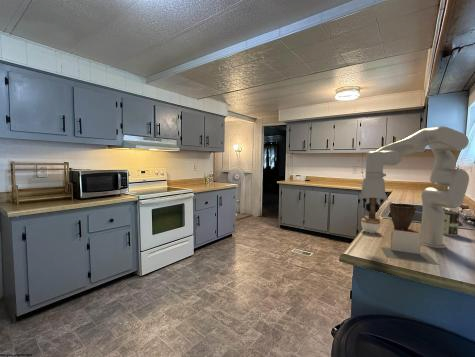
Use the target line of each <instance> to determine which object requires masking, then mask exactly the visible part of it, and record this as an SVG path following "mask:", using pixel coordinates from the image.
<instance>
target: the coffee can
mask: <svg viewBox="0 0 475 357" xmlns="http://www.w3.org/2000/svg"><path fill="white" fill-rule="evenodd" d="M443 210H444V213H445V218H444V229H443V236H444V235H446V236H450V237H451V236H453V237H457V236H458V233H459V232H458V230H459V224H460V223H459V221H460V214H461V213H460V212H458V211H452V210H445V209H443Z"/></svg>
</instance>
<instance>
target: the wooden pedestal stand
mask: <svg viewBox="0 0 475 357" xmlns="http://www.w3.org/2000/svg"><path fill="white" fill-rule="evenodd" d="M376 202H377V201H376V198H369V204H370V211H369V212H368V215H364V218H365V220H366V221H369V222H380V223H381V218H379V217H378V216H376V213H377V212H376Z"/></svg>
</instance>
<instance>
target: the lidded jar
mask: <svg viewBox="0 0 475 357" xmlns="http://www.w3.org/2000/svg"><path fill="white" fill-rule="evenodd" d="M360 221H361V222H360V224H361V228H362V230H363V231H364V232H365V233H368V232H369V233H370V234H375V233H376V232H378V231H379V230H380V225H381V221H380V222H369V221H366V220H365V217H363V218H361V219H360Z"/></svg>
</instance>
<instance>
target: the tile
mask: <svg viewBox="0 0 475 357" xmlns="http://www.w3.org/2000/svg"><path fill="white" fill-rule="evenodd" d="M420 233H421V232H413V231H405V230H394V229H391V233H390V235H391V236H390V246H389V248H390V250H393V251H400V252H407V253H415V254H420V253H421V244H420V243H421V234H420Z"/></svg>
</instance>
